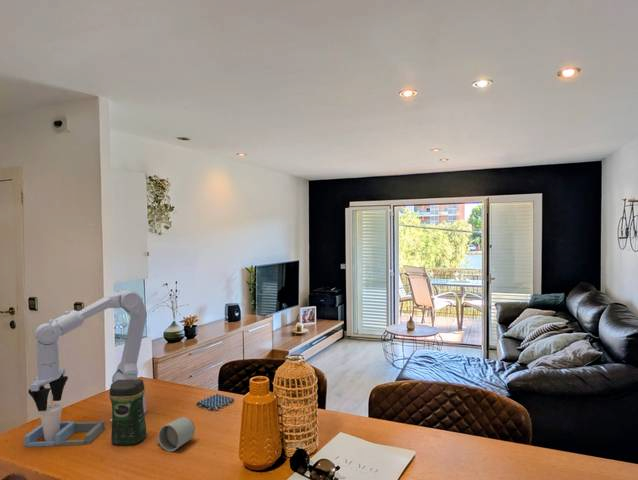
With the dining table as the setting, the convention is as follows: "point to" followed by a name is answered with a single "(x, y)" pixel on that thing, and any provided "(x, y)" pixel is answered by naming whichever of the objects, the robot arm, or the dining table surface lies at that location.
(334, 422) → the dining table surface
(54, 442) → the frame
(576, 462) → the dining table surface
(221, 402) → the woven mat
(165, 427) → the grey hollow cylinder
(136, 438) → the coffee jar
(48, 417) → the smoothie
